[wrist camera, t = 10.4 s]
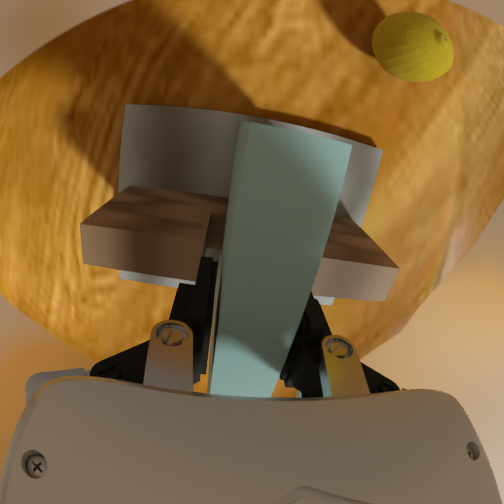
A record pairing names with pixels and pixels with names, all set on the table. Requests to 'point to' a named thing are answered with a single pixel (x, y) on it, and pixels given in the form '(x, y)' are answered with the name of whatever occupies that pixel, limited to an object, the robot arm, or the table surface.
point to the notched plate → (270, 251)
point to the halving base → (212, 161)
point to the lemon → (412, 47)
